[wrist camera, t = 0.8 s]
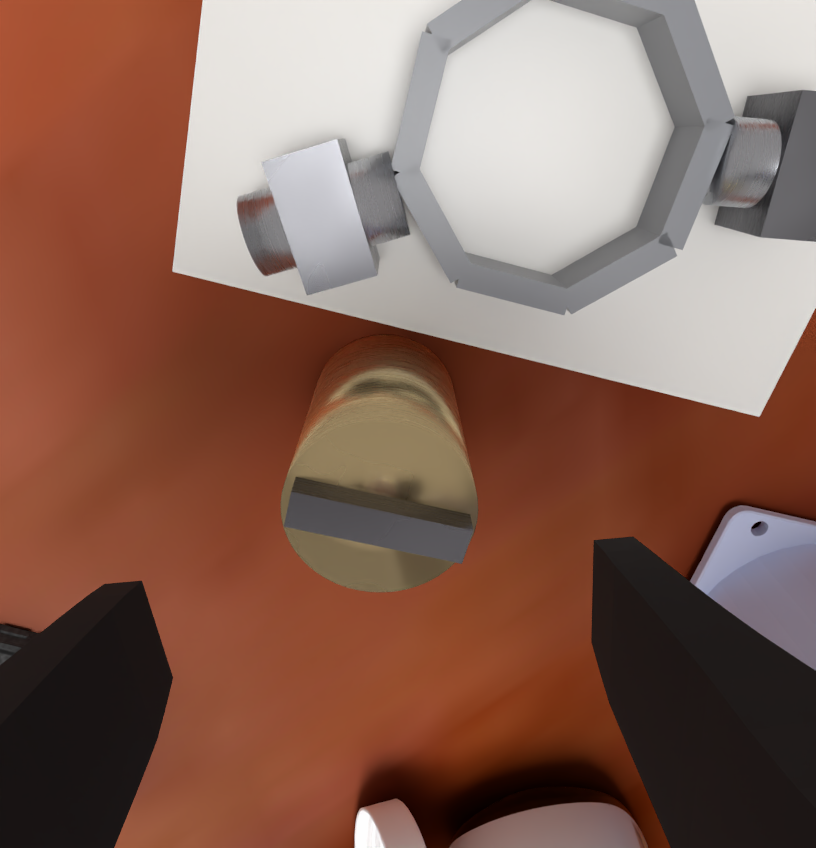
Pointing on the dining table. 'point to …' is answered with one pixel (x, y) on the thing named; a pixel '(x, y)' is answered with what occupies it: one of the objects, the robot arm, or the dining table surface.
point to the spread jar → (514, 823)
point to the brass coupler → (381, 470)
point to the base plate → (521, 173)
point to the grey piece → (323, 215)
